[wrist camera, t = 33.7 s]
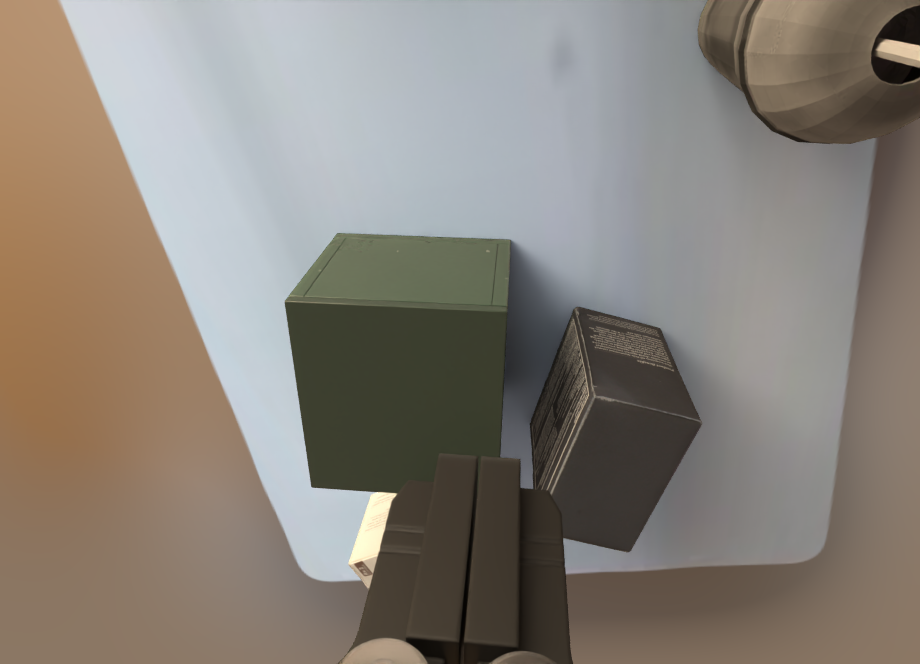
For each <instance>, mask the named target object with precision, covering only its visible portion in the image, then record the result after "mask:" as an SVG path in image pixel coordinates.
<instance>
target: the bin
mask: <svg viewBox="0 0 920 664" xmlns="http://www.w3.org/2000/svg"><path fill="white" fill-rule="evenodd" d="M510 249H511V240H503V239H477V238H450V237H424V236H398V235H371V234H345V233H337V234H336V236H335V237H334V238H333V240H332V241H331V242H330V244H329V245H328V246H327V247H326V249H325V250H324V251H323V253H322V254H321V255H320V256H319V258H318V259H317V260H316V262H315V263H314V264H313V265H312V267H311V268H310V269H309V271H308V272H307V273H306V274H305V276H304V277H303V278H302V280H301V281H300V282H299V283H298V285H297V286H296V287H295V289H294V290H293V291H292V292H291V294H290V295H289V297H308V298H329V299H351V300H372V301H394V302H415V303H437V304H458V305H480V306H501V307H507V308H508V291H509V270H510Z"/></svg>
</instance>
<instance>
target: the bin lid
mask: <svg viewBox="0 0 920 664" xmlns="http://www.w3.org/2000/svg"><path fill="white" fill-rule="evenodd" d="M285 308H286V314H287V321H288V328H289V335H290V342H291V349H292V356H293V363H294V370H295V377H296V383H297V390H298V397H299V404H300V411H301V418H302V425H303V432H304V439H305V446H306V452H307V459H308V466H309V473H310V480H311V487H312V488H326V489H340V490H354V491H368V492H382V493H396V494H398V492H399V491H400V490H401V489H402V487H403V486H404V485H405V484H406V482H407V481H408V480H416V481H429V482H434V477H435V472H436V466H437V461H438V456H439V454H440V453H443V454H457V455H471V456H478V487H479V476H480V465H481V457H482V456H488V457H500V450H501V430H502V410H503V390H504V371H505V351H506V331H507V311H508V308H507V307H501V306H480V305H458V304H437V303H415V302H394V301H372V300H351V299H329V298H308V297H288V298H287V299H286V300H285ZM477 497H478V489H477Z"/></svg>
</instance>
